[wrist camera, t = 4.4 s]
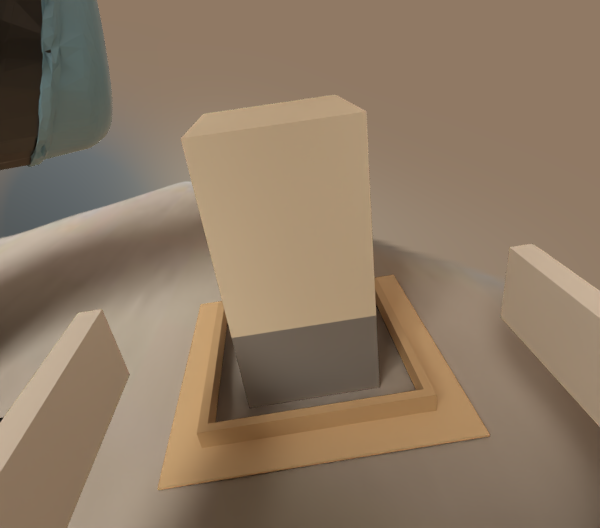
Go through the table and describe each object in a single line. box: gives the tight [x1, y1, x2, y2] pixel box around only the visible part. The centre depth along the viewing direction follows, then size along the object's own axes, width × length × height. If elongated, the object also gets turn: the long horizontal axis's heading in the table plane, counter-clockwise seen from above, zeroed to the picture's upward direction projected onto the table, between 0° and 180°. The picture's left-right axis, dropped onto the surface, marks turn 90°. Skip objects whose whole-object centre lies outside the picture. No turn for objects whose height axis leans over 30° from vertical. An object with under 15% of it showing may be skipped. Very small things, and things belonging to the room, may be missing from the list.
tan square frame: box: [157, 275, 490, 490], centre depth 21 cm, size 13×13×1 cm
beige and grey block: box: [181, 95, 380, 408], centre depth 19 cm, size 6×6×12 cm
